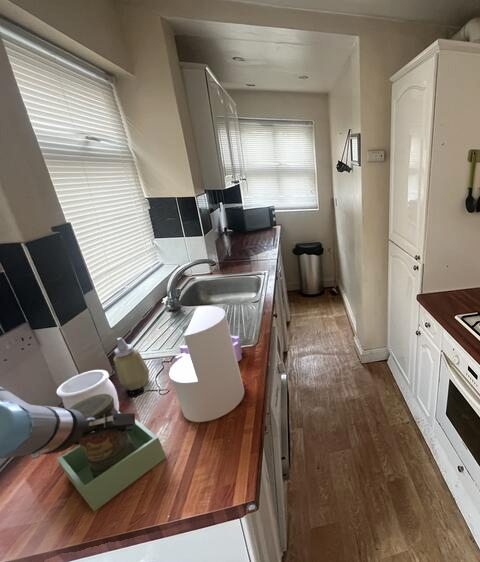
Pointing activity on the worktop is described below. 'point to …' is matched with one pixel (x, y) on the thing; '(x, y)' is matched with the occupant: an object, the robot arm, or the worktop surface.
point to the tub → (113, 468)
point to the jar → (87, 388)
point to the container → (103, 436)
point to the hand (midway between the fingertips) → (110, 430)
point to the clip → (235, 343)
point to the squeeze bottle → (130, 366)
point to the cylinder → (207, 368)
